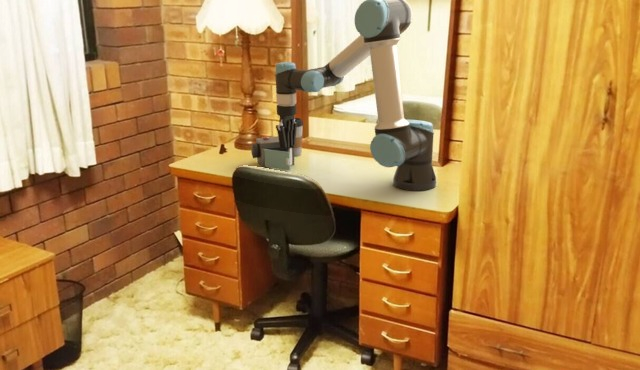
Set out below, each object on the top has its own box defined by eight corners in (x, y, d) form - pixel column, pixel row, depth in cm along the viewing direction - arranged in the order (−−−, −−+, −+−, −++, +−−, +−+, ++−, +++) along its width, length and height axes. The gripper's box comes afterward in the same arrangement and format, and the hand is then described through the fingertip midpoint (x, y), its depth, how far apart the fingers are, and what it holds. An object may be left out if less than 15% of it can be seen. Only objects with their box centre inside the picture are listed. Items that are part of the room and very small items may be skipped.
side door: (261, 167, 243) (260, 149, 241) (263, 166, 245) (262, 148, 242) (288, 171, 238) (288, 152, 236) (290, 169, 239) (290, 151, 237)
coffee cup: (281, 153, 265) (280, 118, 260) (299, 151, 268) (298, 116, 264) (288, 158, 258) (287, 122, 253) (306, 155, 261) (306, 120, 256)
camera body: (294, 165, 248) (293, 138, 245) (255, 169, 244) (254, 142, 240) (288, 159, 257) (287, 133, 253) (250, 163, 252) (249, 136, 249)
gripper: (286, 100, 242) (288, 159, 250) (268, 106, 231) (271, 167, 239) (303, 102, 239) (304, 161, 246) (286, 108, 228) (288, 170, 235)
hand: (288, 164), depth 243 cm, fingers closed
